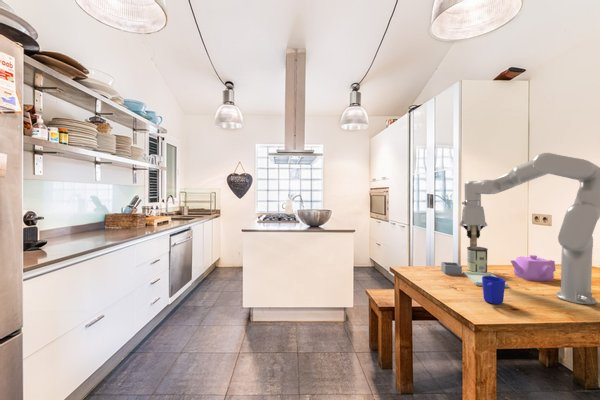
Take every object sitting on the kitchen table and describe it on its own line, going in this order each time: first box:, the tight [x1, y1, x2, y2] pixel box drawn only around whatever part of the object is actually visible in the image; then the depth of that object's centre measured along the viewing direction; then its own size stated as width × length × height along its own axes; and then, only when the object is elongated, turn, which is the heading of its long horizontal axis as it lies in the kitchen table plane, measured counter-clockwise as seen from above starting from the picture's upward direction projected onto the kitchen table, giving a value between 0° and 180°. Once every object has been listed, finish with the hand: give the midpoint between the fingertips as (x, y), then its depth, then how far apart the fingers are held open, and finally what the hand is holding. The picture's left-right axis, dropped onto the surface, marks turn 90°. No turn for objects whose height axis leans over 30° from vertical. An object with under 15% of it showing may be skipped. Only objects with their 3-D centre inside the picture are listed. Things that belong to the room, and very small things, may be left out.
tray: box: [462, 271, 509, 289], centre depth 151 cm, size 20×14×2 cm
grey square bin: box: [440, 261, 463, 276], centre depth 165 cm, size 9×9×6 cm
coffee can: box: [466, 246, 489, 273], centre depth 169 cm, size 10×10×14 cm
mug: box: [482, 276, 506, 305], centre depth 120 cm, size 8×12×10 cm
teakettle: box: [510, 254, 556, 282], centre depth 156 cm, size 17×17×12 cm
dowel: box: [469, 225, 478, 248], centre depth 155 cm, size 3×3×14 cm
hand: (473, 237), depth 155 cm, fingers closed on dowel, 3 cm apart
